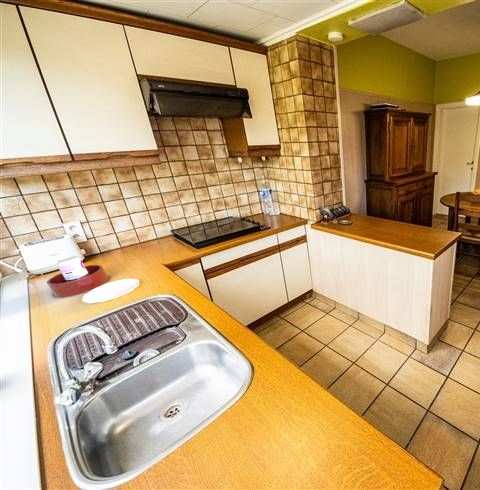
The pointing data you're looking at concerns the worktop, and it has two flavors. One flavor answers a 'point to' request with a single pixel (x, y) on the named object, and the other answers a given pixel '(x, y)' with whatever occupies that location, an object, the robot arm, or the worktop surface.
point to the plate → (110, 291)
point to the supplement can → (72, 268)
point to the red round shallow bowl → (78, 282)
